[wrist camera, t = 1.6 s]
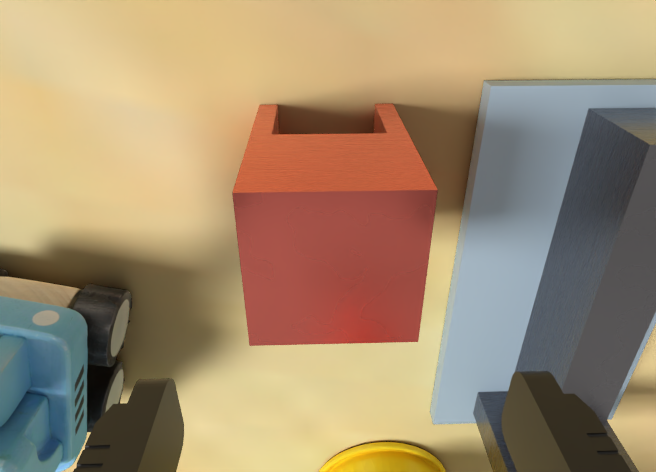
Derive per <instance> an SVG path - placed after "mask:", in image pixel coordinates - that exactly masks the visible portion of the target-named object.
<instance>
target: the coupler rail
mask: <svg viewBox="0 0 656 472" xmlns="http://www.w3.org/2000/svg"><path fill="white" fill-rule="evenodd" d="M655 312H656V108H588V112H587V116H586V119H585V123H584V126H583V130H582V133H581V137H580V141H579V144H578V148H577V151H576V155H575V158H574V162H573V166H572V169H571V173H570V176H569V180H568V183H567V187H566V191H565V194H564V198H563V201H562V205H561V208H560V212H559V216H558V219H557V223H556V226H555V230H554V233H553V237H552V240H551V244H550V248H549V251H548V255H547V258H546V262H545V265H544V269H543V273H542V276H541V280H540V283H539V287H538V290H537V294H536V298H535V301H534V305H533V308H532V312H531V315H530V319H529V323H528V326H527V330H526V333H525V337H524V340H523V344H522V348H521V351H520V355H519V358H518V362H517V365H516V369H515V372H518V371H549V372H550V373H551V374H552V375H553V376H554V378H555V379H556V381H557V383H558V385H559V386H560V388H561V390H562V392H563V393H564V394H575V395H577V396H578V397H579V398H580V399H581V400H582V401H583V402H584V403H585V404H587V405H588V406H589V407H590V408H591V409H592V410H593V411H594V412H595V413H596V415H597V417H598V418H599V420H600V421H601V423H602V425H603V426H604V428H605V429H606V431H607V435H608V437H610V438H611V439H612V441H613V442H614V444H615V446H616V447H617V449H618V453H619V455H622V457H623V459H624V460H625V462H626V463H627V465H628V467H629V468H630V470H631V471H632V472H639V471H638V470H637V468H636V467H635V465H634V463H633V462H632V460H631V459H630V457H629V455H628V454H627V452H626V451H625V449H624V447H623V446H622V444H621V443H620V441H619V439H618V438H617V436H616V435H615V433H614V431H613V430H612V428H611V427H610V425H609V423H608V422H607V419H608V416H609V414H610V412H611V410H612V407H613V405H614V403H615V401H616V399H617V396H618V394H619V392H620V390H621V388H622V385H623V383H624V381H625V379H626V376H627V374H628V372H629V370H630V368H631V365H632V363H633V361H634V359H635V356H636V354H637V352H638V350H639V348H640V345H641V343H642V341H643V339H644V337H645V334H646V332H647V330H648V328H649V325H650V323H651V321H652V319H653V317H654V314H655ZM507 393H508V391H497V392H478V394H477V398H476V402H475V407H474V411H473V415H474V417H475V420H476V423H477V426H478V429H479V432H480V435H481V438H482V440H483V443H484V446H485V449H486V452H487V455H488V458H489V460H490V463H491V466H492V469H493V472H517V470H516V468H515V465H514V463H513V460H512V458H511V455H510V453H509V450H508V448H507V445H506V443H505V440H504V436H503V432H502V422H501V419H502V412H503V408H504V404H505V401H506V397H507Z"/></svg>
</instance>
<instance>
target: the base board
mask: <svg viewBox="0 0 656 472" xmlns="http://www.w3.org/2000/svg"><path fill="white" fill-rule="evenodd" d="M588 108H656V79H611V80H484V83H483V89H482V95H481V102H480V108H479V114H478V120H477V126H476V132H475V138H474V145H473V151H472V157H471V163H470V169H469V175H468V181H467V188H466V194H465V200H464V206H463V212H462V218H461V224H460V230H459V237H458V243H457V249H456V255H455V261H454V267H453V273H452V280H451V286H450V292H449V298H448V304H447V310H446V316H445V323H444V329H443V335H442V341H441V347H440V353H439V359H438V366H437V372H436V378H435V384H434V390H433V396H432V402H431V409H430V414H431V418H432V422H433V424H461V423H476V420H475V417H474V415H473V411H474V407H475V402H476V398H477V394H478V392H497V391H508V390H509V386H510V382H511V378H512V375H513V374H514V372H515V369H516V365H517V362H518V358H519V355H520V351H521V348H522V344H523V340H524V337H525V333H526V330H527V326H528V323H529V319H530V315H531V312H532V308H533V305H534V301H535V298H536V294H537V290H538V287H539V283H540V280H541V276H542V273H543V269H544V265H545V262H546V258H547V255H548V251H549V248H550V244H551V240H552V237H553V233H554V230H555V226H556V223H557V219H558V216H559V212H560V208H561V205H562V201H563V198H564V194H565V191H566V187H567V183H568V180H569V176H570V173H571V169H572V166H573V162H574V158H575V155H576V151H577V148H578V144H579V141H580V137H581V133H582V130H583V126H584V123H585V119H586V116H587V112H588ZM655 323H656V312H655V314H654V317H653V319H652V321H651V323H650V325H649V328H648V330H647V332H646V334H645V337H644V339H643V341H642V343H641V345H640V348H639V350H638V352H637V354H636V356H635V359H634V361H633V363H632V365H631V368H630V370H629V372H628V374H627V376H626V379H625V381H624V383H623V385H622V388H621V390H620V392H619V394H618V396H617V399H616V401H615V403H614V405H613V407H612V410H611V412H610V414H609V416H608V419H612V417H613V415H614V413H615V411H616V409H617V406H618V404H619V402H620V400H621V398H622V396H623V393H624V391H625V389H626V387H627V385H628V382H629V380H630V378H631V376H632V374H633V371H634V369H635V367H636V365H637V363H638V361H639V358H640V356H641V354H642V352H643V350H644V347H645V345H646V343H647V341H648V339H649V337H650V334H651V332H652V330H653V328H654V326H655Z"/></svg>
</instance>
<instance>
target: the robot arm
mask: <svg viewBox="0 0 656 472" xmlns="http://www.w3.org/2000/svg"><path fill="white" fill-rule="evenodd" d="M501 422H502V432H503V436H504V440H505V443H506V445H507V448H508V450H509V453H510V455H511V458H512V460H513V463H514V465H515V468H516V470H517V472H632V471H631V470H630V468H629V467H628V465H627V463H626V462H625V460H624V459H623V457H622V455H619V453H618V449H617V447H616V446H615V444H614V442H613V441H612V439H611V438H610V437H608V435H607V431H606V429H605V428H604V426H603V425H602V423H601V421H600V420H599V418H598V417H597V415H596V413H595V412H594V411H593V410H592V409H591V408H590V407H589V406H588V405H587V404H585V403H584V402H583V401H582V400H581V399H580V398H579V397H578V396H577V395H575V394H564V393H563V392H562V390H561V388H560V386H559V385H558V383H557V381H556V379H555V378H554V376H553V375H552V374H551V373H550V372H549V371H518V372H514V374H513V375H512V378H511V382H510V386H509V390H508V393H507V397H506V401H505V404H504V408H503V412H502V419H501ZM183 438H184V423H183V417H182V413H181V409H180V404H179V400H178V395H177V391H176V386H175V382H174V380H173V379H140V380H138V381H137V382H136V384H135V386H134V389H133V391H132V394H131V396H130V398H129V401H128V403H127V404H113V405H112V406H111V407H110V408H109V409H108V410H107V411H106V412H105V413H104V414H103V416H102V417H101V418H100V419H99V420H98V421H97V422H96V423H95V425H94V427H93V430H92V432H91V434H90V436H89V438H88V440H87V443H86V445H85V450H83V451H82V454H81V456H80V458H79V460H78V462H77V468H76V469H74V471H73V472H176V470H177V466H178V462H179V458H180V454H181V450H182V446H183Z"/></svg>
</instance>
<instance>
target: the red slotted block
mask: <svg viewBox="0 0 656 472" xmlns="http://www.w3.org/2000/svg"><path fill="white" fill-rule="evenodd" d="M437 191H438V190H437V188H436V186H435V184H434V182H433V180H432V178H431V176H430V174H429V172H428V170H427V169H426V167H425V165H424V163H423V161H422V159H421V157H420V155H419V153H418V151H417V149H416V147H415V146H414V144H413V142H412V140H411V138H410V136H409V134H408V132H407V130H406V128H405V126H404V124H403V123H402V121H401V119H400V117H399V115H398V113H397V111H396V109H395V107H394V105H393V104H375V114H374V133H369V134H279V122H278V105H260V106H259V109H258V112H257V115H256V118H255V122H254V125H253V128H252V131H251V135H250V138H249V141H248V144H247V147H246V151H245V154H244V157H243V160H242V164H241V167H240V170H239V173H238V177H237V180H236V183H235V186H234V189H233V202H234V211H235V220H236V229H237V238H238V246H239V255H240V264H241V273H242V282H243V291H244V300H245V309H246V317H247V326H248V335H249V344H250V346H253V345H297V344H340V343H384V342H418V338H419V330H420V322H421V315H422V307H423V299H424V291H425V284H426V276H427V268H428V260H429V253H430V245H431V237H432V229H433V222H434V214H435V206H436V199H437Z"/></svg>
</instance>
